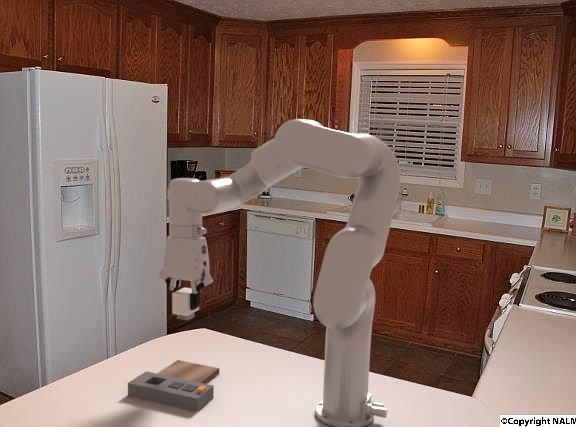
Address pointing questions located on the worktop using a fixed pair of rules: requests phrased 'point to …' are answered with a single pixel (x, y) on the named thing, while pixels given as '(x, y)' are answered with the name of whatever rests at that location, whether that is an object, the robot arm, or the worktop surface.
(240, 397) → the worktop surface
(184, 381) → the power strip
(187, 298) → the block
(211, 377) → the pad
